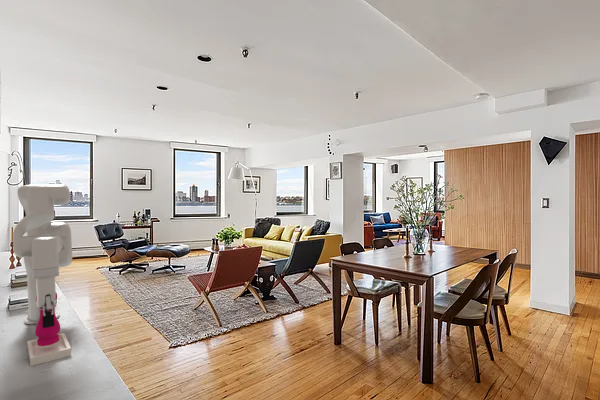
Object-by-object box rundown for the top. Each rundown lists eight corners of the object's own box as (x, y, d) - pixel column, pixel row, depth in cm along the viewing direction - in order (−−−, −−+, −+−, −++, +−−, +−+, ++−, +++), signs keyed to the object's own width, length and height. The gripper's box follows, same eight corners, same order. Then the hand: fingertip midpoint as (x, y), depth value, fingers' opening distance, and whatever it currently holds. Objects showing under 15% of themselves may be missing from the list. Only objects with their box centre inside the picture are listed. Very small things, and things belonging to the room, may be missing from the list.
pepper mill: (47, 347, 118) (45, 288, 118) (30, 346, 120) (27, 287, 119) (66, 338, 125) (64, 283, 125) (49, 337, 127) (47, 282, 126)
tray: (27, 348, 126) (27, 341, 126) (64, 339, 133) (64, 332, 133) (30, 366, 112) (30, 358, 112) (71, 355, 119) (71, 348, 119)
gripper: (30, 270, 126) (32, 320, 127) (33, 278, 113) (36, 334, 113) (56, 267, 131) (57, 315, 131) (61, 274, 118) (63, 328, 118)
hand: (47, 323), depth 122 cm, fingers closed on pepper mill, 5 cm apart
